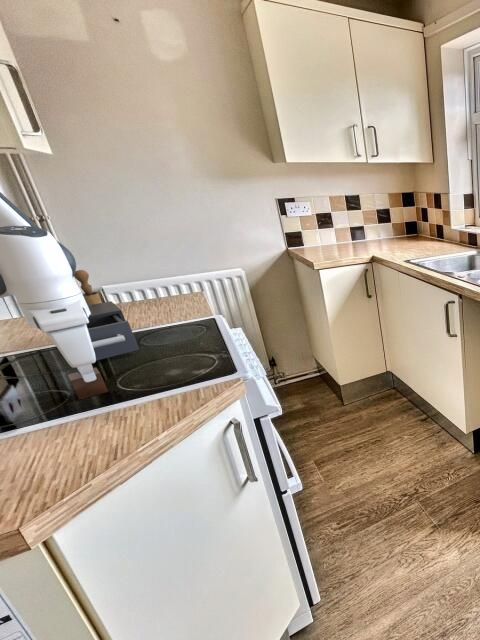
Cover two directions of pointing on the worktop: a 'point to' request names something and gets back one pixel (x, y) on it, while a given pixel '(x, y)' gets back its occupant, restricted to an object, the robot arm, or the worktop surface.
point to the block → (87, 385)
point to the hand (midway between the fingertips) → (86, 374)
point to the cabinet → (105, 310)
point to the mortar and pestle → (87, 288)
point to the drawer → (111, 336)
